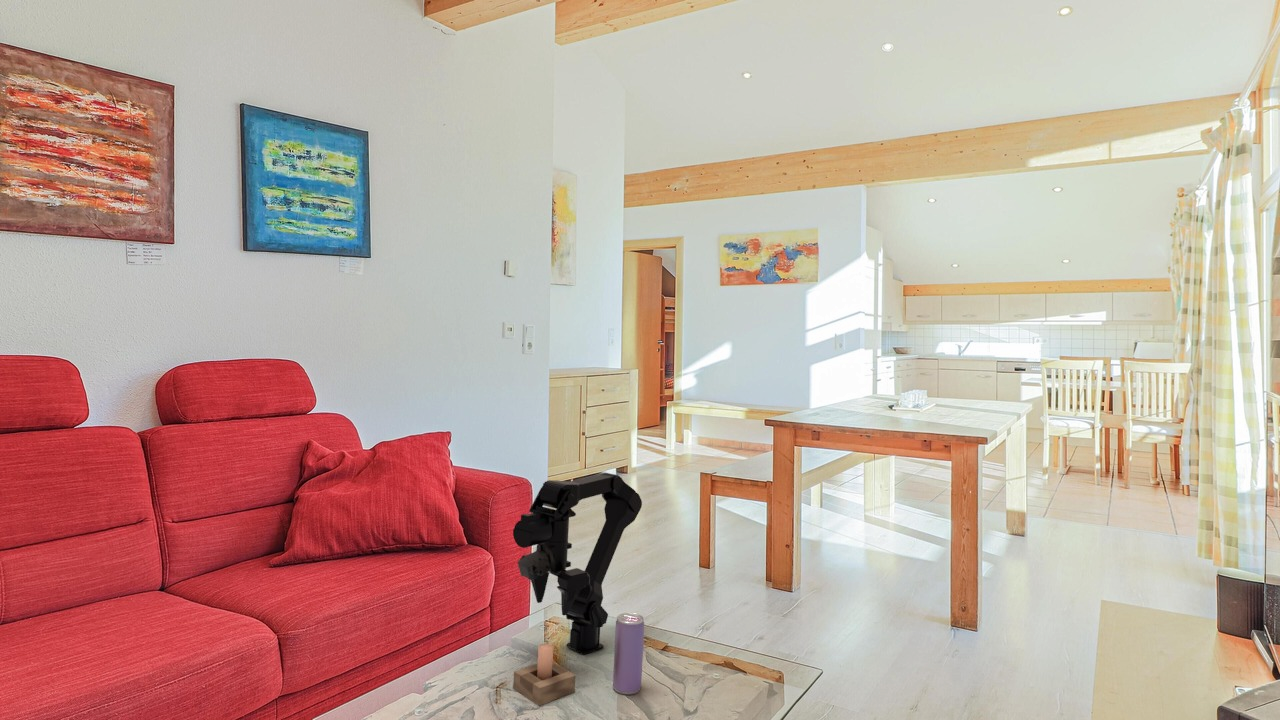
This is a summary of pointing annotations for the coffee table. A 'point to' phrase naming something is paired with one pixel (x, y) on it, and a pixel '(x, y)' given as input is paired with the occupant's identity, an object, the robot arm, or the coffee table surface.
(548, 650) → the peg
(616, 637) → the beverage can
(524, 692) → the socket
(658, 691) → the coffee table surface
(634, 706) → the coffee table surface
